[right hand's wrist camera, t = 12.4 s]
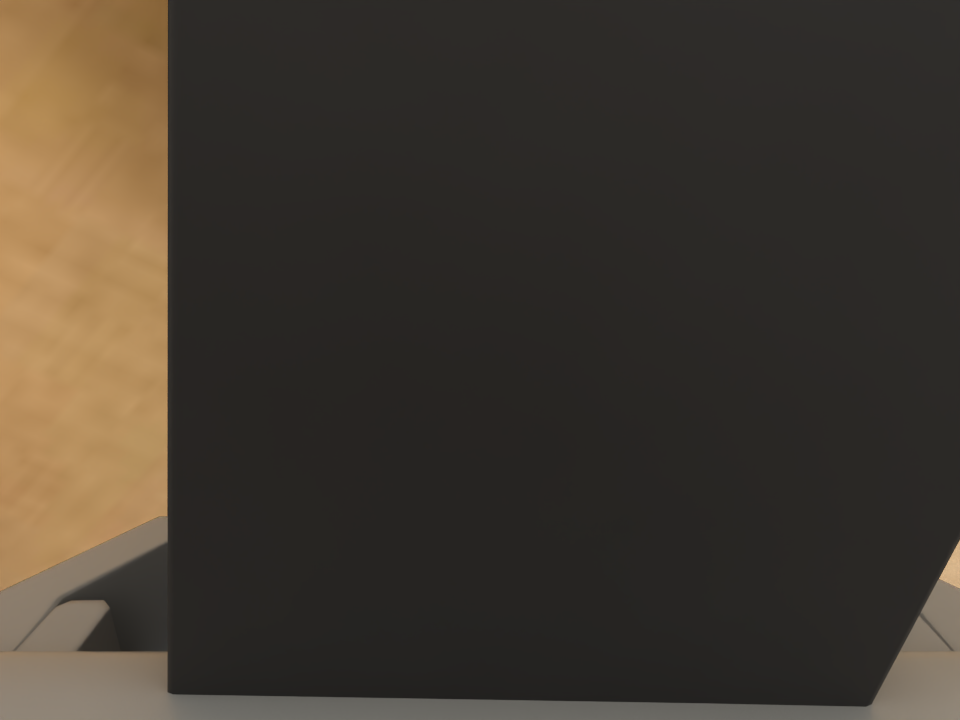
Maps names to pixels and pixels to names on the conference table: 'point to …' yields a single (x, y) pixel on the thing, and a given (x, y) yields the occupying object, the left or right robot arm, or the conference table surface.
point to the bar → (560, 346)
